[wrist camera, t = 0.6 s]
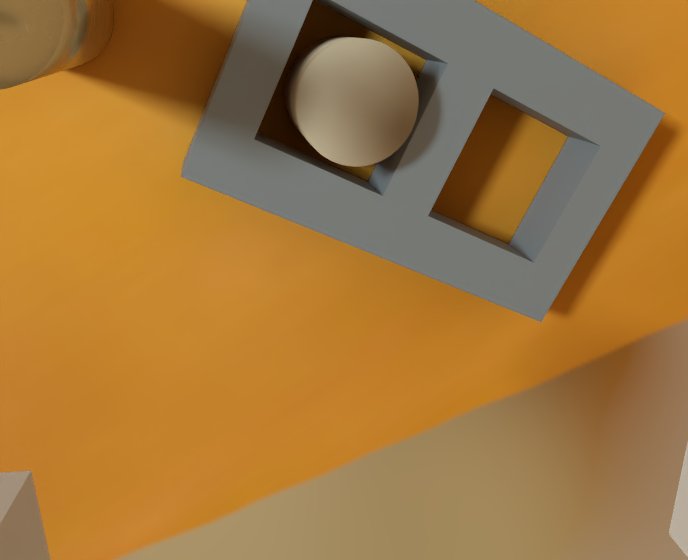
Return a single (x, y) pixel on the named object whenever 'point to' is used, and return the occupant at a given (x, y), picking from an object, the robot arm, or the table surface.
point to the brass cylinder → (50, 36)
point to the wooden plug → (352, 99)
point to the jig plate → (430, 145)
